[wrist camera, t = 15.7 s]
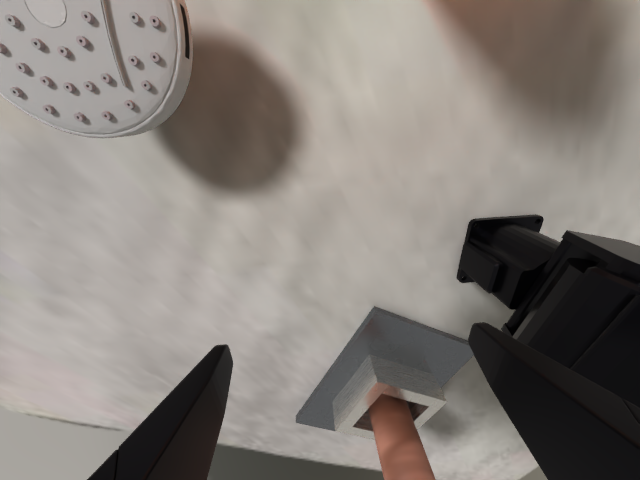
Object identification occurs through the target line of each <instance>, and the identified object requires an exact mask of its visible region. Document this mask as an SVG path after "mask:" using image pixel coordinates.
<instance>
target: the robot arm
mask: <svg viewBox="0 0 640 480" xmlns="http://www.w3.org/2000/svg"><path fill="white" fill-rule="evenodd" d="M543 220H544V219H543V217H542V216H539V215H523V216H508V217H494V218H479V219H473V220H471V221H470V222H469V225H468V229H467V234H466V238H465V242H464V245H463V250H462V254H461V259H460V263H459V269H458V273H457V279H458V280H459V281H460V282H461V283H466V282H476V283H478V284H479V285H480V286H481V287H482V288H483V289H484V290H485V291H486V292H488V293H492V294H493V295H494V296H496V297H497V298H498V299H499V300H500V301H501V302H502V303H504V304H505V305H506V306H507V307H508V308H509V309H516V310H515V311H514V313H513V314H512V316H511V317H510V319H509V320H508V322H507V323H505V324H504V325H503V327H502V328H501V329H502V331H503V332H502V331H500V330H498V329H497V328H495V327H493V326H491V325H489V324H487V323H484V322H483V323H474V324H473V325H472V328H471V331H470V335H469V339H468V342H469V346H470V348H471V350H472V352H473V354H474V356H475V358H476V360H477V362H478V364H479V366H480V368H481V370H482V372H483V373H484V375H485V377H486V379H487V381H488V383H489V385H490V387H491V389H492V390H493V392H494V394H495V395H496V397H497V399H498V400H499V402H500V403H501V405H502V407H503V408H504V410H505V411H506V413H507V415H508V416H509V418H510V419H511V421H512V423H513V424H514V426H515V428H516V429H517V431H518V432H519V434H520V436H521V437H522V439H523V440H524V442H525V444H526V445H527V447H528V448H529V450H530V452H531V453H532V455H533V456H534V458H535V460H536V461H537V463H538V464H539V466H540V468H541V469H542V471H543V473H544V474H545V476H546V477H547V479H548V480H640V246H638V245H635V244H632V243H629V242H625V241H621V240H616V239H611V238H606V237H600V236H595V235H589V234H584V233H579V232H573V231H568V230H567V231H566V232H565V234H564V235H563V237H562V238H563V240H562V241H561V242H558V241H556V240H554V239H552V238H549V237H547V236H545V235H543V234H540V233H539V231H540V229H541V226H542V223H543ZM476 223H477V225H476V226H474V225H475V224H476ZM462 277H463V278H462ZM232 368H233V360H232V356H231V353H230V349H229V347H228V345H226V344H225V345H216V346H215V347H214V348H213V349H212V350H211V351H210V352H209V353H208V354H207V355H206V356H205V357H204V358H203V359H202V360H201V361H200V362H199V363H198V364H197V365H196V366H195V367H194V369H193V370H192V371H191V372H190V373H189V374H188V375H187V376H186V377H185V378H184V379H183V380H182V381H181V382H180V383H179V384H178V385H177V386H176V387H175V388H174V390H173V391H172V392H171V393H170V394H169V395H168V396H167V397H166V398H165V399H164V400H163V401H162V402H161V403H160V404H159V405H158V406H157V407H156V408H155V409H154V411H153V412H152V413H151V414H150V415H149V416H148V417H147V418H146V419H145V420H144V421H143V422H142V423H141V424H140V425H139V426H138V427H137V428H136V429H135V430H134V432H133V433H132V434H131V435H130V436H129V437H128V438H127V439H126V440H125V441H124V442H123V443H122V444H121V445H120V446H119V449H118V450H115V451H114V452H113V454H112V455H111V456H110V457H109V458H108V459H107V460H106V461H105V462H104V463H103V464H102V465H101V466H100V467H99V468H98V469H97V470H96V471H95V472H94V473H93V474H92V475H91V476H90V477H89V478H88V479H87V480H207V477H208V473H209V469H210V466H211V462H212V458H213V455H214V451H215V447H216V444H217V440H218V436H219V433H220V429H221V425H222V422H223V418H224V414H225V409H226V403H227V397H228V391H229V386H230V380H231V374H232Z"/></svg>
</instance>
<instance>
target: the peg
mask: <svg viewBox="0 0 640 480" xmlns="http://www.w3.org/2000/svg"><path fill="white" fill-rule="evenodd" d="M368 411H369V415H370V419H371V424H372V428H373V432H374V437H375V441H376V445H377V450H378V454H379V458H380V463H381V467H382V472H383V476H384V480H435V477H434V474H433V472H432V469H431V466H430V464H429V461H428V458H427V456H426V453H425V450H424V448H423V445H422V442H421V440H420V437H419V434H418V432H417V429H416V426H415V424H414V421H413V418H412V416H411V413H410V410H409V408H408V405H407V402H406V400H403V399H400V398H396V397H392V396H389V395H385V394H381V395H380V396H379V397H378V398H377V399H376V400H375V402H374V403H373V404H372V405H371V406H370V407H369V408H368Z"/></svg>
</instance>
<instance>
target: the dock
mask: <svg viewBox="0 0 640 480" xmlns="http://www.w3.org/2000/svg"><path fill="white" fill-rule="evenodd" d="M473 355H474V354H473V352H472V350H471V348H470V346H469V342H468V341H466V340H463V339H461V338H458V337H455V336H452V335H450V334H447V333H444V332H442V331H439V330H436V329H434V328H431V327H428V326H425V325H423V324H420V323H417V322H415V321H412V320H409V319H407V318H404V317H401V316H398V315H396V314H393V313H390V312H388V311H385V310H382V309H380V308H377V307H374V308H373V309H372V310H371V312H370V313H369V315H368V316H367V317H366V319H365V320H364V322H363V323H362V324H361V326H360V327H359V329H358V330H357V331H356V333H355V334H354V336H353V337H352V338H351V340H350V341H349V343H348V344H347V345H346V347H345V348H344V350H343V351H342V352H341V354H340V355H339V357H338V358H337V359H336V361H335V362H334V364H333V365H332V366H331V368H330V369H329V371H328V372H327V373H326V375H325V376H324V378H323V379H322V380H321V382H320V383H319V385H318V386H317V387H316V389H315V390H314V392H313V393H312V394H311V396H310V397H309V399H308V400H307V401H306V403H305V404H304V406H303V407H302V408H301V410H300V411H299V413H298V414H297V415H296V423H300V424H305V425H309V426H314V427H318V428H323V429H328V430H332V431H336V432H341V433H345V434H350V435H355V436H359V437H364V438H368V439H373V440H375V437H374V432H373V428H372V424H371V419H370V415H369V411H368V408H369V407H370V406H371V405H372V404H373V403H374V402H375V400H376V399H377V398H378V397H379V396H380V395H381V394H385V395H389V396H392V397H396V398H400V399H403V400H406V402H407V405H408V408H409V410H410V413H411V416H412V418H413V421H414V424H415V426H416V429H417V430H418V429H419V428H420V427H421V426H422V425H423V424H424V423H425V422H426V421H427V420H429V419H430V418H431V417H432V416H433V415H434V414H435V413H436V412H437V411H438V410H439V409H440V408H441V407H442V406H443V405H445V404H446V403H447V400H446V398H445V396H444V394H443V392H442V391H441V389H440V388H441V387H442V386H443V385H444V384H445V383H446V382H447V381H448V380H449V379H450V378H451V377H452V376H453V375H454V374H455V373H456V372H457V371H458V370H459V369H460V368H461V367H462V366H463V365H464V364H465V363H466V362H467V361H468V360H469V359H470V358H471V357H472V356H473Z"/></svg>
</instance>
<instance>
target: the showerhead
mask: <svg viewBox="0 0 640 480" xmlns="http://www.w3.org/2000/svg"><path fill="white" fill-rule="evenodd" d="M192 62H193V40H192V32H191V25H190V20H189V15H188V11H187V7H186V4H185V0H0V95H1V96H2V97H4V98H5V99H6V100H7V101H9V102H10V103H11V104H13V105H14V106H16V107H17V108H19V109H20V110H22V111H23V112H25V113H26V114H28V115H30V116H31V117H33V118H35V119H37V120H39V121H41V122H43V123H45V124H47V125H49V126H51V127H54V128H56V129H59V130H62V131H65V132H68V133H71V134H75V135H79V136H85V137H91V138H114V137H123V136H131V135H137V134H141V133H144V132H147V131H149V130H152V129H154V128H155V127H157V126H159V125H160V124H162V123H163V122H164V121H166V120H167V119H168V118H169V117H170V116H171V115H172V114H173V112H174V111H175V110H176V109H177V107H178V106H179V104H180V102H181V101H182V99H183V97H184V95H185V92H186V90H187V87H188V84H189V80H190V76H191V70H192Z"/></svg>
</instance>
